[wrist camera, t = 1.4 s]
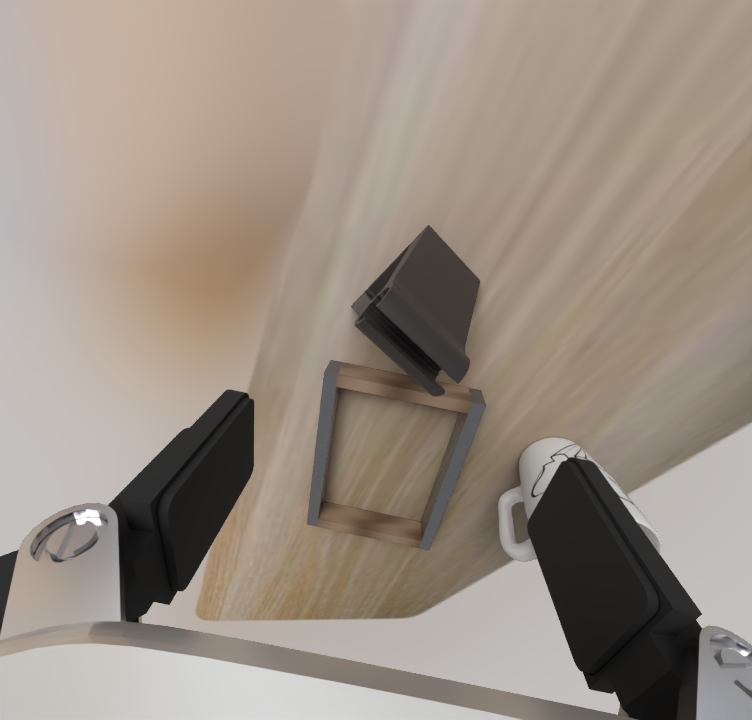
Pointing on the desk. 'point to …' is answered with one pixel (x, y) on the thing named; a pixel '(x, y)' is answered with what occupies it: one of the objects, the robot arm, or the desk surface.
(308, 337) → the desk surface
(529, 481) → the mug
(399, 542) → the wooden frame
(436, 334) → the phone stand
